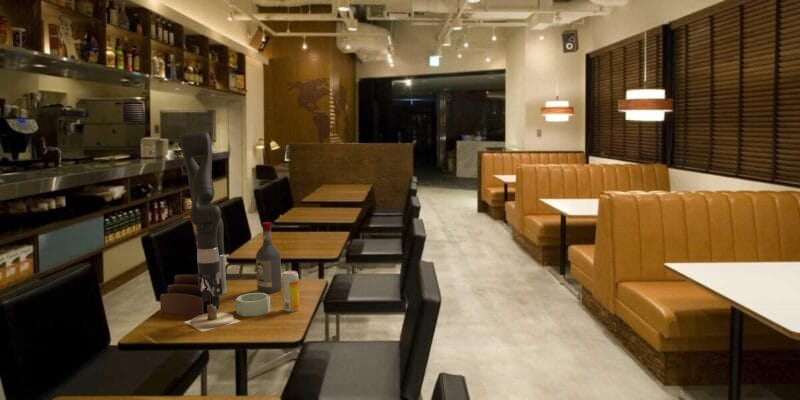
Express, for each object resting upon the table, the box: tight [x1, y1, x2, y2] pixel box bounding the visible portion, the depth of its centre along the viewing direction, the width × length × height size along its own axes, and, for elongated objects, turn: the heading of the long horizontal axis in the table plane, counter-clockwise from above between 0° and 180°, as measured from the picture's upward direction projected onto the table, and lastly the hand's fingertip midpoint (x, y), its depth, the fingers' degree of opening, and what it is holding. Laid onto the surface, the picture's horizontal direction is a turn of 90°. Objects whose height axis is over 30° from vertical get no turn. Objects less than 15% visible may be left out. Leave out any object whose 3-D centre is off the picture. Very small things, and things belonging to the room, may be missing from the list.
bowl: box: [235, 292, 272, 317], centre depth 230 cm, size 12×12×6 cm
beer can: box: [281, 270, 301, 313], centre depth 232 cm, size 6×6×15 cm
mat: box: [184, 317, 242, 332], centre depth 218 cm, size 15×15×1 cm
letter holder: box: [159, 274, 220, 317], centre depth 231 cm, size 10×20×14 cm, turn 71°
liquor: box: [255, 221, 283, 294], centre depth 259 cm, size 9×9×30 cm
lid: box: [190, 304, 235, 329], centre depth 218 cm, size 15×15×6 cm
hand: (210, 303), depth 217 cm, fingers open, 8 cm apart
